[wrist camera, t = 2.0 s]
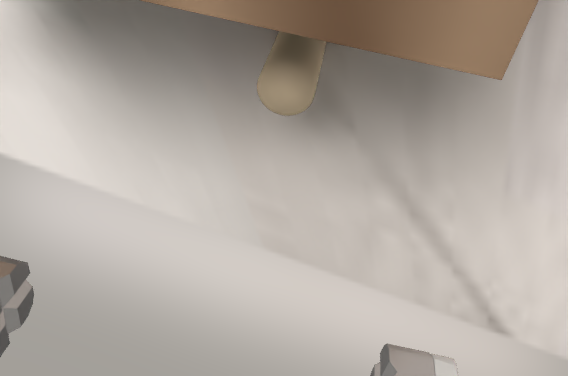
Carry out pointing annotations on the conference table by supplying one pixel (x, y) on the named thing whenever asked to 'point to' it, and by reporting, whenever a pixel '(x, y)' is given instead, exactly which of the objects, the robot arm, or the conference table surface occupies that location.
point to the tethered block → (291, 74)
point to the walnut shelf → (392, 26)
